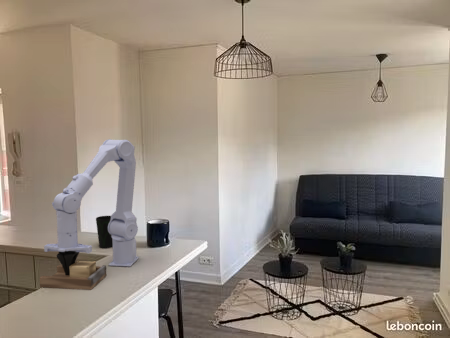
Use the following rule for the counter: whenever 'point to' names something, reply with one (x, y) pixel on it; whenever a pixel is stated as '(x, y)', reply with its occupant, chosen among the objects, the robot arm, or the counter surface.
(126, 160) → the robot arm
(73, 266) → the box
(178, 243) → the counter surface
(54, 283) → the bay
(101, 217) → the cup
